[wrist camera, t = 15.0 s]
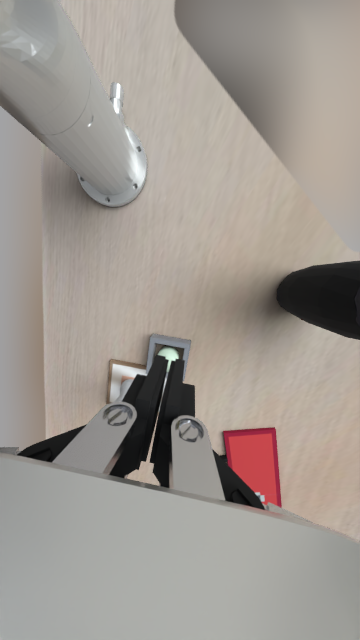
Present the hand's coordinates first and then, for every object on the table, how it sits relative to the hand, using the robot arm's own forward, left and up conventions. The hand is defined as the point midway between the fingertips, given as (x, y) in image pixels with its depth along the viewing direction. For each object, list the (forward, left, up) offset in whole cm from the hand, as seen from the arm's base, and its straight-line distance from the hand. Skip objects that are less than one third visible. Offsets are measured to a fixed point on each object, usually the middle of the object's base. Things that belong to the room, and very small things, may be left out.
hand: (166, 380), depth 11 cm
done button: (+11, -2, -27) cm, 29 cm away
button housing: (+11, -2, -28) cm, 30 cm away
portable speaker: (-6, +20, -28) cm, 35 cm away
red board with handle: (+40, +21, -29) cm, 53 cm away
